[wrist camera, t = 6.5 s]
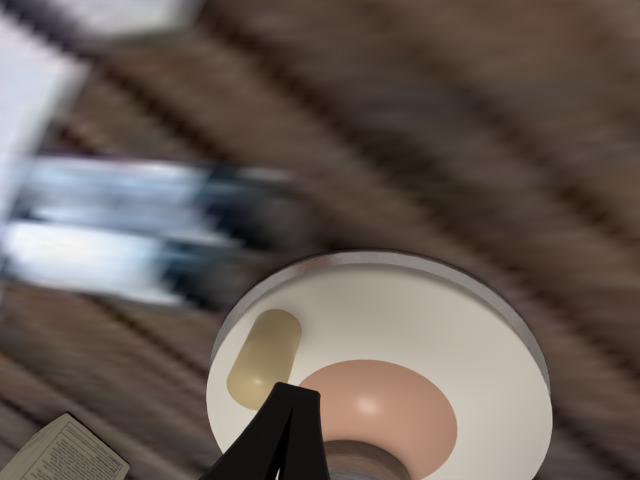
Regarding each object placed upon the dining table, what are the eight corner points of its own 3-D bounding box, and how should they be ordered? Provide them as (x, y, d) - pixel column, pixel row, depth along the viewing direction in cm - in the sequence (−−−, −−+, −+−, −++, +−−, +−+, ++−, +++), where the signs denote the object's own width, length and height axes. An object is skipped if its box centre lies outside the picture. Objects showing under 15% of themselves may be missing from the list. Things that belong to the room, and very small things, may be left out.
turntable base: (613, 298, 20) (618, 304, 19) (476, 538, 28) (478, 546, 27) (228, 210, 21) (224, 213, 20) (201, 466, 28) (198, 473, 28)
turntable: (412, 190, 18) (424, 239, 13) (604, 447, 22) (669, 560, 17) (155, 367, 25) (97, 446, 20) (342, 543, 29) (334, 647, 24)
